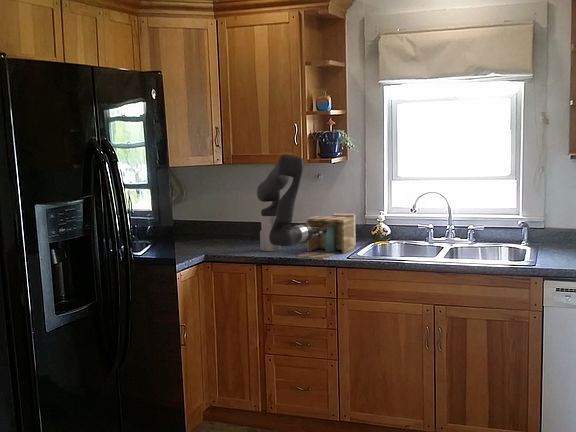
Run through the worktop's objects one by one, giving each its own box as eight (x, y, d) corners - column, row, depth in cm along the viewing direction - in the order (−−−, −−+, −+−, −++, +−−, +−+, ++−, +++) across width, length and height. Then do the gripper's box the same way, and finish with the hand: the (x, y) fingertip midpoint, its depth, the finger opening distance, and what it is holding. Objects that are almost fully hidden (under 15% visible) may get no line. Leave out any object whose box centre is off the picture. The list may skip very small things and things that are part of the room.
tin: (323, 251, 342) (323, 226, 340) (328, 249, 346) (327, 225, 345) (332, 251, 339) (331, 227, 338) (336, 250, 343) (336, 225, 342)
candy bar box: (332, 247, 354) (331, 214, 353) (334, 245, 359) (333, 213, 357) (354, 247, 351) (353, 214, 350) (356, 245, 356) (355, 213, 354)
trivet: (295, 256, 328) (295, 255, 328) (308, 252, 339) (308, 251, 338) (322, 258, 321) (322, 257, 321) (334, 254, 331) (334, 253, 331)
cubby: (307, 251, 343) (306, 218, 342) (318, 247, 353) (317, 215, 351) (344, 253, 333) (343, 220, 331) (354, 250, 343) (353, 217, 341)
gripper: (314, 225, 313) (331, 221, 327) (286, 224, 320) (304, 220, 334) (314, 242, 314) (331, 237, 327) (287, 240, 321) (305, 236, 335)
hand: (318, 229), depth 331 cm, fingers open, 8 cm apart
